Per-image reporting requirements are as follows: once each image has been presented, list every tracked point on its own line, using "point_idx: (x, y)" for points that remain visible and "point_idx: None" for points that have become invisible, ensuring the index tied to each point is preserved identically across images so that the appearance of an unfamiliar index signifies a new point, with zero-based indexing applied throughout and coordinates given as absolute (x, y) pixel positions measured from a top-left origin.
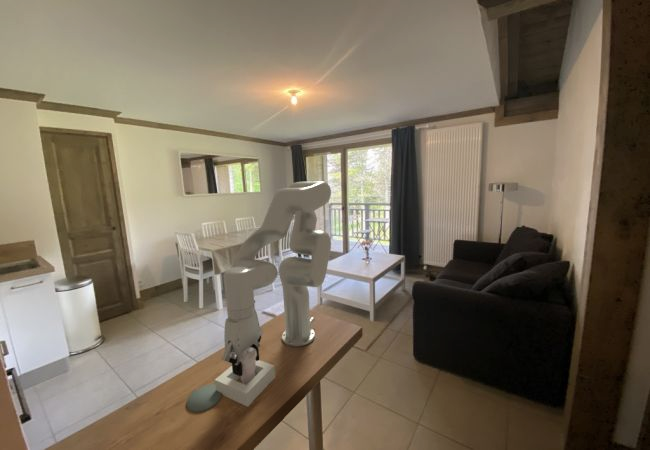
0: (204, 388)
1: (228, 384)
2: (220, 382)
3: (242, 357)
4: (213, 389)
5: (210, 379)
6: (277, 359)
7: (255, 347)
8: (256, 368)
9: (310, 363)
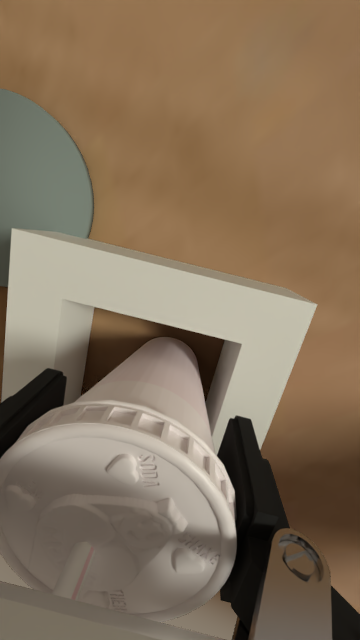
0: (43, 148)
1: (12, 350)
2: (8, 287)
3: (35, 535)
4: (55, 214)
5: (135, 121)
6: (356, 438)
7: (237, 595)
8: (211, 420)
9: (331, 576)
